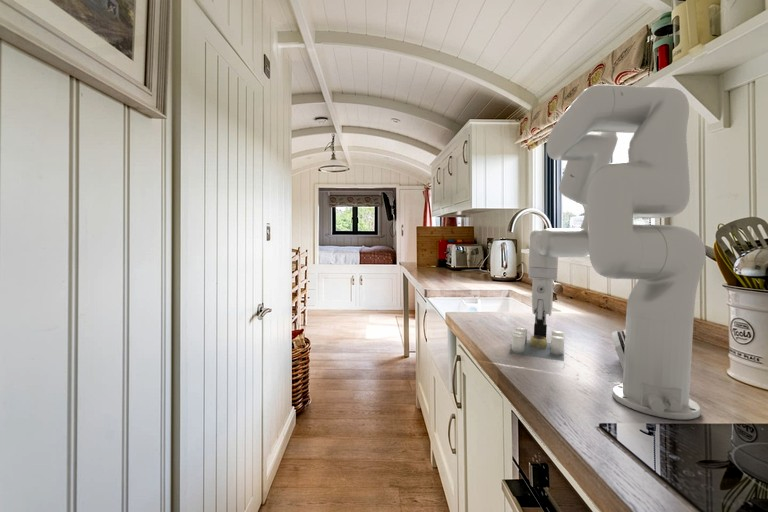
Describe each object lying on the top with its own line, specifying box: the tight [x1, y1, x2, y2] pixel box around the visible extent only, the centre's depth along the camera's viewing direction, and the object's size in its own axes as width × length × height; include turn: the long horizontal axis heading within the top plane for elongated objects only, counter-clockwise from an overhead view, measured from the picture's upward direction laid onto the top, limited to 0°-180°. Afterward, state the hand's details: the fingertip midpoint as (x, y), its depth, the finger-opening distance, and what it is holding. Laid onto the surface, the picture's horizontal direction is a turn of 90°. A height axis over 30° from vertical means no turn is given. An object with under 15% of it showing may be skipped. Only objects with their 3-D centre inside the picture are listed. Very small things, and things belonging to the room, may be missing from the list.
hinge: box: [611, 329, 626, 372], centre depth 84 cm, size 17×5×10 cm, turn 150°
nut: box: [530, 335, 548, 348], centre depth 101 cm, size 5×4×2 cm
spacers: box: [511, 327, 565, 355], centre depth 98 cm, size 13×12×4 cm
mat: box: [509, 339, 565, 362], centre depth 99 cm, size 16×12×1 cm
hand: (539, 338), depth 106 cm, fingers closed
